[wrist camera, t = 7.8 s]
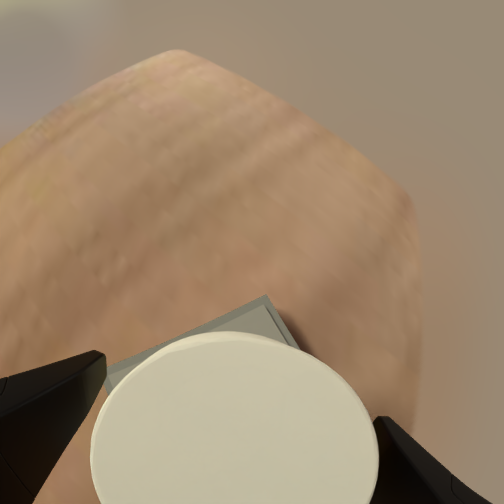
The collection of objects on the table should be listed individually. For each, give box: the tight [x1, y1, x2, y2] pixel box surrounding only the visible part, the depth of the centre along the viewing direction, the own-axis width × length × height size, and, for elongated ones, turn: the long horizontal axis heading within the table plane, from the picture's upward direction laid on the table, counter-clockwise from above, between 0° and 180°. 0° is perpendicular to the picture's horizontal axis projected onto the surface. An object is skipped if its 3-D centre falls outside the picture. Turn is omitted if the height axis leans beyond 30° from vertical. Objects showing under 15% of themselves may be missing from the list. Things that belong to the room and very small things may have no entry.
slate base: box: [104, 294, 300, 396], centre depth 15 cm, size 12×12×2 cm
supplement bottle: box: [90, 331, 379, 504], centre depth 9 cm, size 7×7×13 cm
